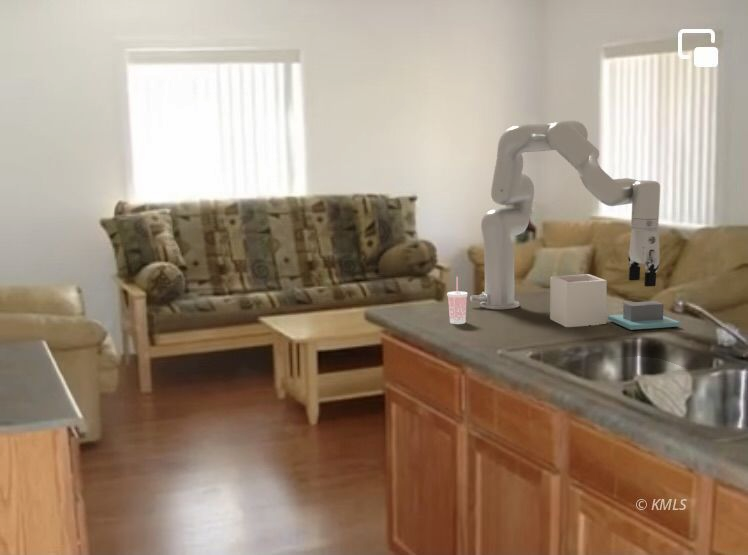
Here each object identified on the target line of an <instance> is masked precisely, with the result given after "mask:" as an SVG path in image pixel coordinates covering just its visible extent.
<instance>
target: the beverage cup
mask: <svg viewBox="0 0 748 555" xmlns="http://www.w3.org/2000/svg"><path fill="white" fill-rule="evenodd" d="M455 278H456V279H455V280H456V282H455V283H456V284H455V285H456V290H454V291H449V292H447V293H446V296H447V299H448V301H447V302H448V312H449V313H448V314H449V323H450V324H451V325H452V324H453V325H463V324H465V323H466V319H467V318H466V317H467V298H468V292H466V291H459V276H457V275H456V277H455Z"/></svg>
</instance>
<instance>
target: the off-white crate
mask: <svg viewBox="0 0 748 555" xmlns="http://www.w3.org/2000/svg"><path fill="white" fill-rule="evenodd" d="M549 278H550V280H549V290H550V292H549V319H550V320H551V321H553V322H555V323H556V324H559V325H560V326H563V327H565V328H575V327H587V326H588V327H589V325H591V326H600V325H599V324H606V325H607V292H608V291H607V288H608V287H607V286H608V285H607V284H608V281H607V279H603V278H600V277H598V276H596V275H592V274H589V273H586V274H570V275H569V274H568V275H553V276H552V275H551V276H550V277H549Z"/></svg>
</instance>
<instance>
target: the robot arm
mask: <svg viewBox="0 0 748 555" xmlns="http://www.w3.org/2000/svg"><path fill="white" fill-rule="evenodd" d="M588 133H589V132H588V130H587V128H586V126H585V124H583V123H582V122H580V121H577V120H560V121H559V120H558V121H556V122H552V123H551V122H550V123H536V124H535V123H526V124H519V125H514V126H511V127H510V128H508V129H506V130H504V132H503V133H502V134H501V136H500V138H499V140H498V143H497V152H496V153H497V154H496V161H495V165H494V166H495V167H494V171H493V172H494V173H493V177H492V183H491V189H490V196H491V197H490V198H492V201H493V202H495V204H497V205H500V206H504V207H498V208H493V209H491V210H489V211H486V213H485V214H484V215H483V217H482V219H481V224H480V226H481V229H480V230H481V233H482V234H481V235H482V237H483V246H484V247H483V249H484V250H483V252H484V253H483V254H484V258H483V259H484V291H481V293H480V294H479V295H475V294H474V295H470V297H469V299H470V302H476V303H478V302H479V307H480V308H482V309H487V310H512V309H516V308H518V307H520V302H519V301H517V300H515V248H514V244H513V241H512V238H511V237H516V236H519V235H522V234H523V233H524V232H525V231H526V230H527V228H528V226H529V223H530V220H531V219H530V218H531V214H532V207H533V202H534V197H535V186H534V182H533V180H532V179H531V178H530V177H529V176H528V175H526V174H524V173H522V172H523V170H524V158H523V153H536V152H537V153H538V152H546V151H548V152H549V151H556V152H557V153H558V154H559V155H560V156H561V157H562V158H563V159H565V160H566V161H567V163H569V164H570V165H571V166H572V167H573V168H574V169H575V170H576V171H577V173H578V176H579V179H580V180H581V182H582V185H584V187H585V189H586V190H587V191H588V192H589V193H590V194H591V195H592V196H594V197H595V198H596V199H597V200H598V201H599V202H600V203H602V204H603V205H606V206H609V207H616V206H622V205H623V206H624V205H629V204H631V217H630V218H631V219H630V220H631V221H630V223H631V224H630V230H631V234H630V240H629V248H628V250H627V254H628V255H627V256H628V258H627V259H628V267H629V268H628V269H629V270H628V281H639V280H640V278H641V266H640V265H642V266H644V267H645V271H646V272H644V283H643V284H644V287H647V288H648V287H656V284H657V282H656V281H657V272H658V268H659V264H660V235H659V223H660V222H659V220H660V199H661V184H660V182H658V181H655V180H637V179H633V178H628V177H627V178H626V177H625V178H616V179H614V178H612V177H611V176H610V175H609V174H608V173H606V172H605V170H603V169H602V168H603V167H601V166H600V164H599V162H598V159H599V157H600V151H599V149H598V148H597V147H596V146H595V145H594V144H593V143H592V142H591V141H589V140H588Z"/></svg>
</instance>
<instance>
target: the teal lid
mask: <svg viewBox="0 0 748 555" xmlns="http://www.w3.org/2000/svg"><path fill="white" fill-rule="evenodd" d="M622 306H623V312H622V314H613V315H612V314H610V315H607V320H608V321H610V322H613V323H615V324H617V325H619V326H622V327H624V328H626V329H628V330H631V331H632V330H643V329H647V330H648V329H659V328H672V327H673V328H674V327H680V326H681V322H680V321H677V320H675V319H674V318H673V319H672V318H670V317H667V316H665V315H664V303H662V302H659V301H656V300H652V301H651V300H649V301H636V302H635V301H633V302H624V303H623V305H622Z"/></svg>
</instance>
